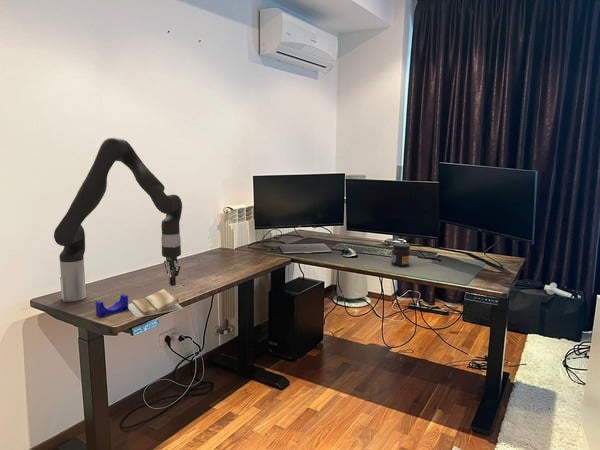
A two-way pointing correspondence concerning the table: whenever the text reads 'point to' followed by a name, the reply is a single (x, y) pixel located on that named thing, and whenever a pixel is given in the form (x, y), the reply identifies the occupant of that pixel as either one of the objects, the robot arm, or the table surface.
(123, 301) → the blue cradle holder
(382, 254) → the table surface
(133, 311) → the plate
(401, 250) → the supplement container
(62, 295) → the robot arm
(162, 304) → the click plank
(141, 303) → the laid plank
